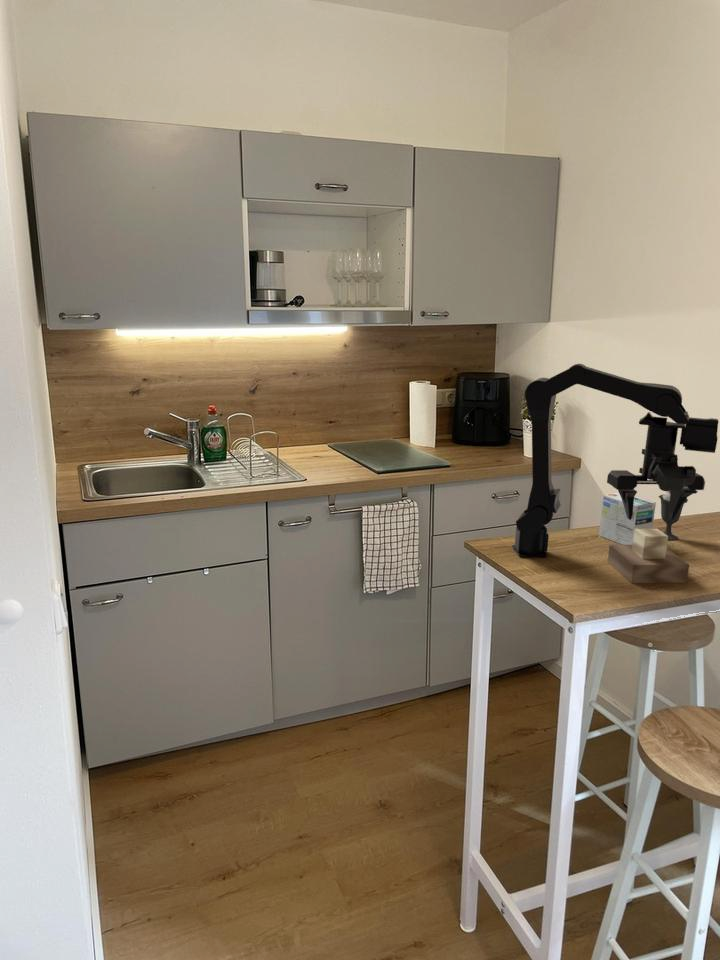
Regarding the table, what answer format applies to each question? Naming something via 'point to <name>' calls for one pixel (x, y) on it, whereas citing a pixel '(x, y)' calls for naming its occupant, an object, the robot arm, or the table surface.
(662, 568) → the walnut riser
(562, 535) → the table surface
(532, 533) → the robot arm
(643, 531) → the maple cube
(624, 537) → the light bulb box
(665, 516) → the sundae
